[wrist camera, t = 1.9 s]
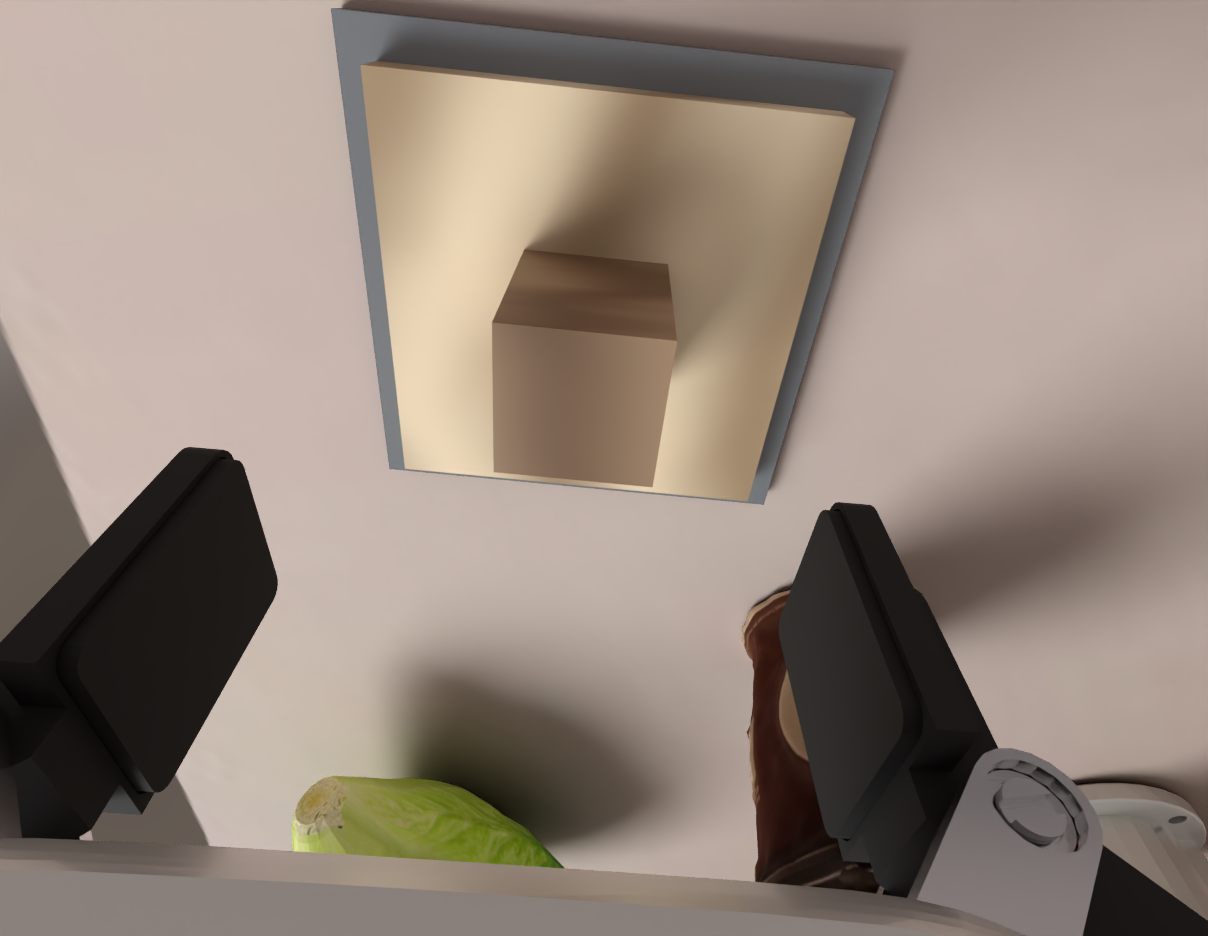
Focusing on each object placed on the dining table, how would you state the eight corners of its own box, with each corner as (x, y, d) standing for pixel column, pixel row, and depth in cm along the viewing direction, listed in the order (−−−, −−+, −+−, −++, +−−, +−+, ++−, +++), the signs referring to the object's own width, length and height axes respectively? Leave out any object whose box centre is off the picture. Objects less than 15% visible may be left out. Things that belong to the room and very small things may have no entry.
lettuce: (494, 668, 32) (432, 961, 22) (610, 856, 43) (603, 1106, 33) (253, 706, 35) (104, 983, 25) (420, 874, 46) (362, 1110, 36)
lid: (843, 111, 17) (930, 160, 12) (742, 480, 24) (771, 610, 19) (376, 60, 17) (263, 88, 12) (414, 449, 24) (354, 571, 19)
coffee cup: (741, 545, 27) (810, 906, 16) (943, 562, 27) (1144, 932, 16) (704, 678, 32) (739, 1017, 21) (874, 692, 32) (992, 1037, 21)
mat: (887, 68, 17) (894, 70, 16) (761, 494, 25) (763, 504, 24) (339, 8, 16) (331, 8, 16) (394, 459, 25) (389, 468, 24)
